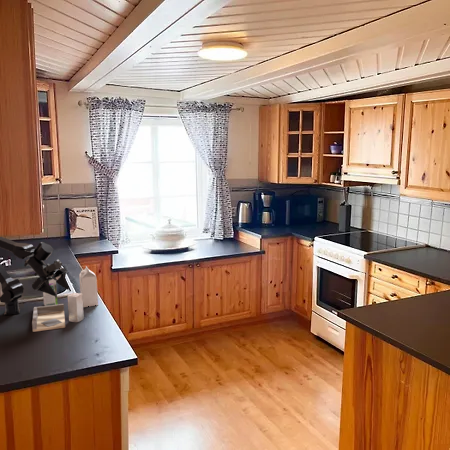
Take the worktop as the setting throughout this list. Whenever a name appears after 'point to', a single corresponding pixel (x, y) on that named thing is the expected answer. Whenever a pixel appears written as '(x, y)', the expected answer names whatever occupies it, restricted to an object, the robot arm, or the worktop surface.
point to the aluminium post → (75, 307)
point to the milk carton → (88, 287)
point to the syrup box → (49, 298)
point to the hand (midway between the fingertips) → (62, 292)
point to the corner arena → (48, 317)
